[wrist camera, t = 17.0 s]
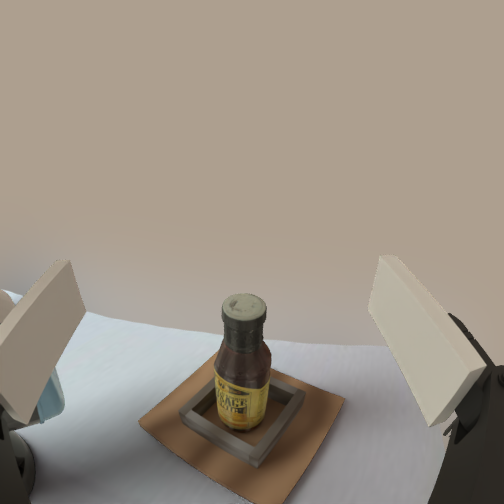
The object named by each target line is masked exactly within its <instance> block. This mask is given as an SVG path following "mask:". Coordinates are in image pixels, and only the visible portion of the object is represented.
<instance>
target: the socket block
mask: <svg viewBox="0 0 504 504" xmlns="http://www.w3.org/2000/svg"><path fill="white" fill-rule="evenodd" d="M218 352H219V350H218V351H217V352H216V353H215V354H214V355H213V356H212V357H211V358H210V359H209V360H207V361H206V362H205V363H204V364H203V365H202V366H201V367H200V368H199V369H198V370H196V371H195V372H194V373H193V374H192V375H191V376H190V377H189V378H187V379H186V380H185V381H184V382H183V383H182V384H181V385H179V386H178V387H177V388H176V389H175V390H174V391H173V392H171V393H170V394H169V395H168V396H167V397H166V398H164V399H163V400H162V401H161V402H160V403H159V404H157V405H156V406H155V407H154V408H153V409H152V410H150V411H149V412H148V413H147V414H146V415H144V416H143V417H142V418H141V419H140V420H138V423H139V424H140V426H141V427H142V428H143V429H144V430H146V431H147V432H148V433H149V434H150V435H152V436H153V437H154V438H155V439H157V440H158V441H159V442H160V443H162V444H163V445H164V446H165V447H167V448H168V449H169V450H171V451H172V452H173V453H175V454H176V455H177V456H179V457H180V458H181V459H183V460H184V461H186V462H187V463H188V464H190V465H191V466H193V467H194V468H196V469H197V470H199V471H200V472H202V473H203V474H205V475H206V476H208V477H209V478H211V479H212V480H214V481H216V482H217V483H219V484H221V485H222V486H224V487H226V488H227V489H229V490H231V491H232V492H234V493H236V494H238V495H239V496H241V497H243V498H245V499H247V500H249V501H251V502H252V503H254V504H282V503H283V502H284V501H285V499H286V498H287V496H288V495H289V494H290V492H291V491H292V489H293V488H294V486H295V485H296V483H297V482H298V480H299V479H300V477H301V476H302V474H303V473H304V471H305V470H306V468H307V467H308V465H309V463H310V462H311V460H312V459H313V457H314V455H315V454H316V452H317V450H318V449H319V447H320V445H321V443H322V442H323V440H324V438H325V436H326V435H327V433H328V431H329V429H330V427H331V426H332V424H333V422H334V420H335V418H336V416H337V414H338V412H339V410H340V409H341V407H342V405H343V402H344V400H345V398H343V397H340V396H337V395H335V394H332V393H329V392H327V391H324V390H322V389H319V388H316V387H314V386H312V385H309V384H307V383H304V382H302V381H299V380H297V379H295V378H292V377H290V376H288V375H285V374H283V373H281V372H278V371H276V370H274V369H272V368H270V373H271V374H270V382H269V389H268V397H267V403H266V410H265V415H264V418H263V420H262V421H261V423H260V425H259V426H258V427H257V428H255V429H253V430H250V431H247V432H237V431H233V430H231V429H229V428H227V427H226V426H225V425H224V424H223V423H222V421H221V418H220V417H219V414H218V407H217V397H216V387H215V376H214V362H215V360H216V357H217V355H218Z"/></svg>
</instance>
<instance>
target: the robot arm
mask: <svg viewBox="0 0 504 504" xmlns="http://www.w3.org/2000/svg"><path fill="white" fill-rule="evenodd" d="M367 309H368V311H369V313H370V315H371V316H372V318H373V320H374V321H375V323H376V325H377V327H378V329H379V330H380V332H381V334H382V336H383V338H384V339H385V341H386V343H387V345H388V347H389V349H390V351H391V352H392V354H393V356H394V358H395V360H396V362H397V364H398V366H399V367H400V369H401V371H402V373H403V375H404V377H405V379H406V381H407V383H408V385H409V387H410V389H411V391H412V393H413V395H414V397H415V399H416V401H417V403H418V405H419V407H420V410H421V412H422V414H423V416H424V418H425V420H426V422H427V425H428V427H431V426H434V425H436V424H439V423H442V422H444V421H446V420H447V419H448V418H449V416H450V415H451V414H452V413H453V412H454V410H455V412H456V414H457V416H458V417H457V418H456V419H455V420H454V421H453V422H452V424H451V425H450V426H449V427H448V428H447V429H446V430H445V432H444V434H443V435H444V436H446V435H447V434H448V433H449V432H450V431H451V429H452V431H451V435H450V436H449V437H450V440H449V443H448V447H447V450H446V453H445V457H444V460H443V463H442V466H441V469H440V472H439V475H438V478H437V481H436V484H435V486H434V489H433V492H432V494H431V497H430V499H429V501H428V504H504V366H503V365H500V366H495V365H494V363H493V362H492V361H491V359H490V358H489V356H488V355H487V354H486V352H485V351H484V350H483V348H482V347H481V346H480V345H479V343H478V342H477V341H476V339H474V337H473V336H472V334H471V333H470V332H468V329H467V328H466V327H465V325H464V324H463V323H462V322H461V321H460V320H459V319H457V318H456V317H455V316H453V315H452V314H451V313H448V314H447V313H446V312H445V310H444V309H443V308H442V307H441V306H440V304H439V303H438V302H437V301H436V300H435V299H434V297H433V296H432V295H431V294H430V293H429V292H428V290H427V289H426V288H425V287H424V286H423V285H422V284H421V283H420V281H419V280H418V279H417V278H416V277H415V276H414V275H413V274H412V273H411V272H410V270H409V269H408V268H407V267H406V266H405V265H404V264H403V263H402V262H401V261H400V260H399V259H398V258H397V257H396V255H380V258H379V263H378V267H377V271H376V276H375V280H374V284H373V288H372V292H371V296H370V300H369V304H368V307H367ZM85 313H86V309H85V306H84V303H83V301H82V298H81V295H80V292H79V288H78V285H77V282H76V279H75V276H74V272H73V269H72V265H71V262H70V260H57V261H56V262H55V263H54V264H53V265H52V266H51V267H50V268H49V269H48V270H47V271H46V272H45V273H44V274H43V275H42V276H41V278H40V279H39V280H38V281H37V282H36V283H35V284H34V285H33V286H32V287H31V289H30V290H29V291H28V292H27V293H26V294H25V295H24V296H23V298H22V299H21V300H20V301H19V302H18V303H17V305H16V306H15V305H14V303H13V301H12V299H11V297H10V296H9V295H8V294H7V293H6V292H4V291H3V290H1V289H0V504H31V502H30V500H29V497H28V496H29V494H30V492H31V490H32V487H33V484H34V479H35V464H34V459H33V456H32V453H31V451H30V449H29V447H28V445H27V444H26V442H25V441H24V440H23V439H22V438H21V437H20V436H19V435H18V434H17V433H16V432H15V431H14V430H17V429H21V428H24V427H28V426H31V425H35V424H38V423H40V424H42V423H44V421H45V420H48V419H50V418H52V417H55V416H57V415H59V414H61V413H62V411H63V410H64V406H65V400H64V395H63V391H62V388H61V384H60V381H59V378H58V374H57V371H56V368H55V366H56V364H57V362H58V360H59V358H60V357H61V355H62V353H63V351H64V349H65V347H66V346H67V344H68V342H69V340H70V339H71V337H72V335H73V333H74V332H75V330H76V328H77V326H78V325H79V323H80V321H81V320H82V318H83V316H84V315H85Z"/></svg>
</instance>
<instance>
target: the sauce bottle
mask: <svg viewBox="0 0 504 504" xmlns="http://www.w3.org/2000/svg"><path fill="white" fill-rule="evenodd" d="M266 309H267V308H266V304H265V302H264V301H263V300H262V299H261V298H259V297H257V296H255V295H252V294H235V295H232V296H230V297H228V298H227V299H226V300H225V301H224V302H223V305H222V320H223V322H224V339H223V341H222V344H221V347H220V349H219V352H218V355H217V357H216V360H215V362H214V376H215V387H216V397H217V407H218V414H219V417H220V418H221V421H222V423H223V424H224V425H225V426H226V427H227V428H229V429H231V430H233V431H237V432H247V431H250V430H253V429H255V428H257V427H258V426H259V425H260V423H261V421H262V420H263V418H264V415H265V410H266V403H267V397H268V389H269V382H270V374H271V373H270V367H271V353H270V350H269V348H268V346H267V345H266V344H265V342H264V341H263V335H262V334H263V323H264V322H265V320H266Z"/></svg>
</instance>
